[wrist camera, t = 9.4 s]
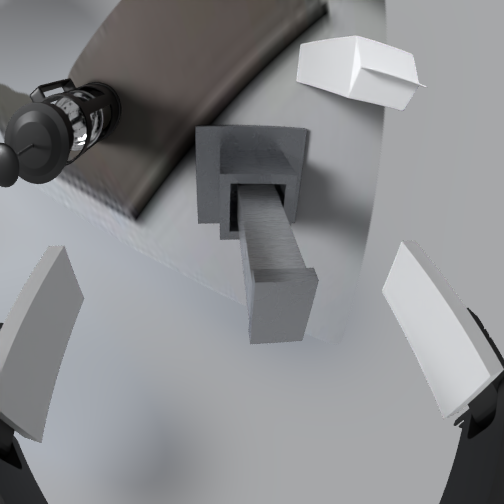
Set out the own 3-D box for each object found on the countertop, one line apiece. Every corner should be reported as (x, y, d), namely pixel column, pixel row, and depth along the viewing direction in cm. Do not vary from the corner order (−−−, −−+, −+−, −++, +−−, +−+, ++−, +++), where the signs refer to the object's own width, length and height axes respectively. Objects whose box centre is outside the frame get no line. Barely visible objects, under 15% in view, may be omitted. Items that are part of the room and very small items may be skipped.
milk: (334, 87, 38) (423, 121, 20) (295, 81, 37) (363, 106, 19) (339, 50, 34) (435, 57, 16) (299, 42, 33) (373, 33, 16)
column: (237, 172, 36) (255, 282, 20) (273, 172, 37) (318, 280, 21) (236, 220, 41) (250, 344, 24) (268, 219, 41) (302, 340, 25)
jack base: (196, 125, 39) (187, 148, 30) (305, 128, 41) (332, 152, 31) (198, 220, 49) (194, 267, 39) (293, 219, 51) (311, 264, 41)
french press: (134, 124, 38) (63, 188, 20) (87, 155, 39) (7, 235, 21) (99, 61, 31) (-1, 77, 13) (53, 97, 33) (-50, 144, 14)
